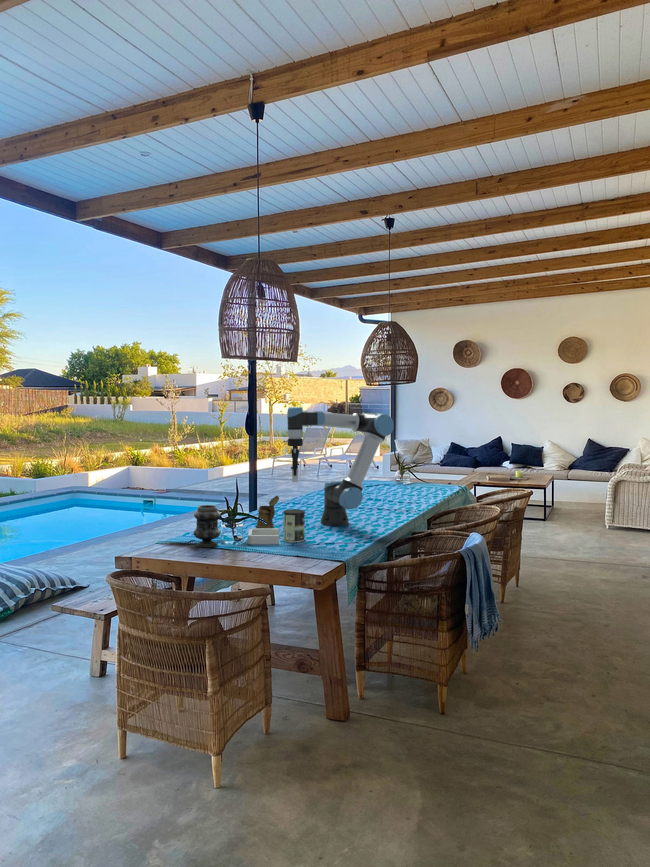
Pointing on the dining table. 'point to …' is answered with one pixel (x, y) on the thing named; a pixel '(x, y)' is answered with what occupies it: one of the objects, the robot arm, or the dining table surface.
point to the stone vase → (207, 525)
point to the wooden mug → (267, 514)
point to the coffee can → (294, 525)
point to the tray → (263, 536)
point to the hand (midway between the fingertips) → (295, 480)
